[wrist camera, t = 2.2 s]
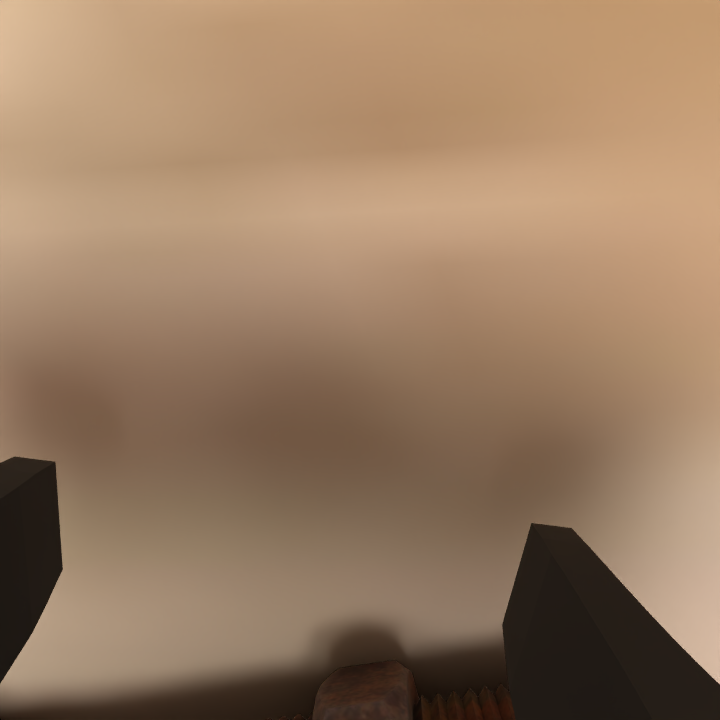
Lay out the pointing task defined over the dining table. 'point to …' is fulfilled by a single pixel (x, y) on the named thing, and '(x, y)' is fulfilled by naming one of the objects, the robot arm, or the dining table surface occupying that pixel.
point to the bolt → (399, 698)
